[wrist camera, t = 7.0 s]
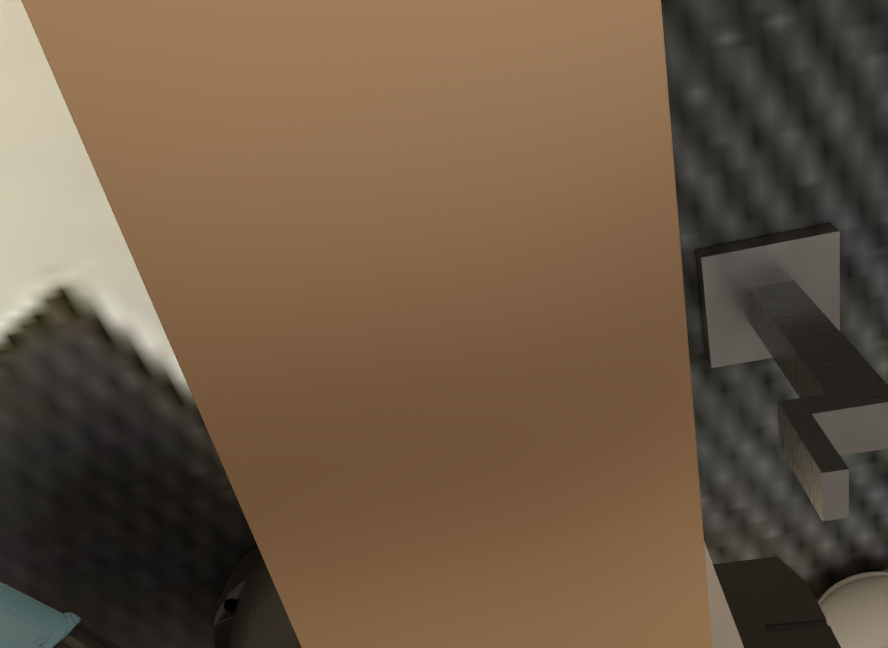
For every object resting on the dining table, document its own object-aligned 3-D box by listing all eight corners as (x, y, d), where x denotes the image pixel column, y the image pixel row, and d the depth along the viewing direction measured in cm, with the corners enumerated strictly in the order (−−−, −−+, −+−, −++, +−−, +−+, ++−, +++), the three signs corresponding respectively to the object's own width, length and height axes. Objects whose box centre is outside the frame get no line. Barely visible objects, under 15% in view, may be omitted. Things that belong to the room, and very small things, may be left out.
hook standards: (831, 336, 36) (1008, 542, 24) (705, 357, 37) (813, 566, 25) (827, -290, 25) (1151, -514, 13) (650, -237, 26) (793, -397, 14)
